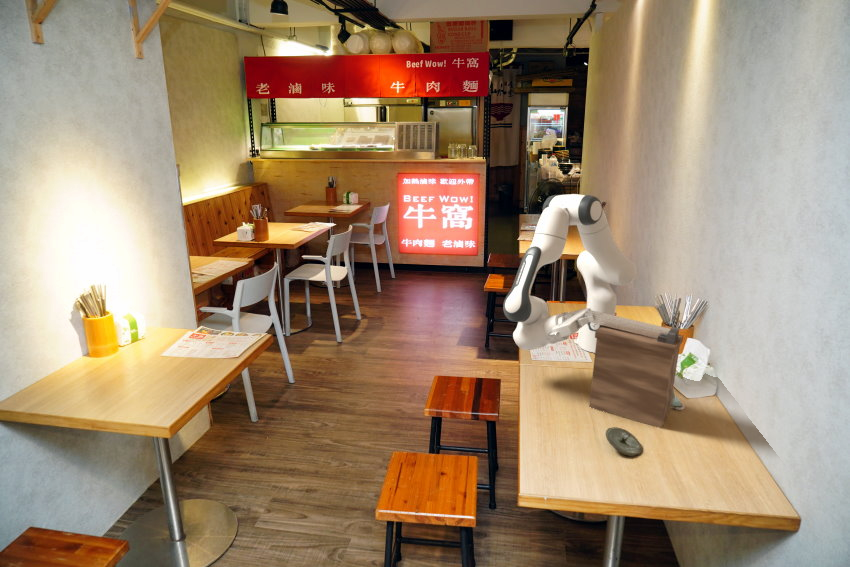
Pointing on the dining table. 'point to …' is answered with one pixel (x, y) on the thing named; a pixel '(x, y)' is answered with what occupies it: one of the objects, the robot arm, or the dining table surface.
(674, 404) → the pacifier
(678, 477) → the dining table surface
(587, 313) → the aluminium bar
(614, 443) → the lid
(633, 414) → the walnut stand
